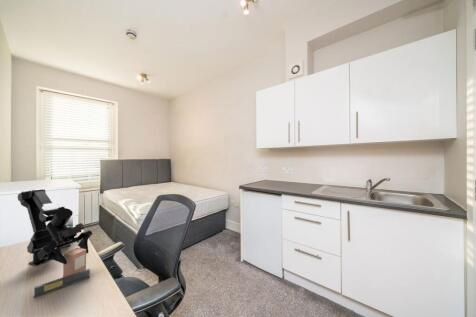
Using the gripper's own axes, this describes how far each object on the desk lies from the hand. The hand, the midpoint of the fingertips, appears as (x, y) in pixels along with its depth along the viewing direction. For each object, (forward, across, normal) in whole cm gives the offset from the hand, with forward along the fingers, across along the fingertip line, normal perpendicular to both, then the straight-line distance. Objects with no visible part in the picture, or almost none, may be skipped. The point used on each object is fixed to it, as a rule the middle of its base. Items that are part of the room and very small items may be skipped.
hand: (77, 258), depth 80 cm
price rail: (+7, -7, +3) cm, 10 cm away
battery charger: (-19, +16, +29) cm, 38 cm away
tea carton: (+4, 0, +6) cm, 7 cm away
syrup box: (-24, +21, +34) cm, 47 cm away
